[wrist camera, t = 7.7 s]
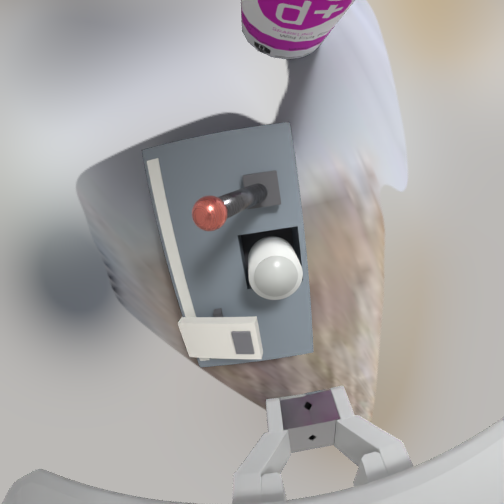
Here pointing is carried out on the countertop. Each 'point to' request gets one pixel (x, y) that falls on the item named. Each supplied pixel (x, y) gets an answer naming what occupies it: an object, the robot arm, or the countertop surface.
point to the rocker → (221, 337)
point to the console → (232, 230)
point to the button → (274, 268)
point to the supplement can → (290, 24)
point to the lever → (226, 206)
